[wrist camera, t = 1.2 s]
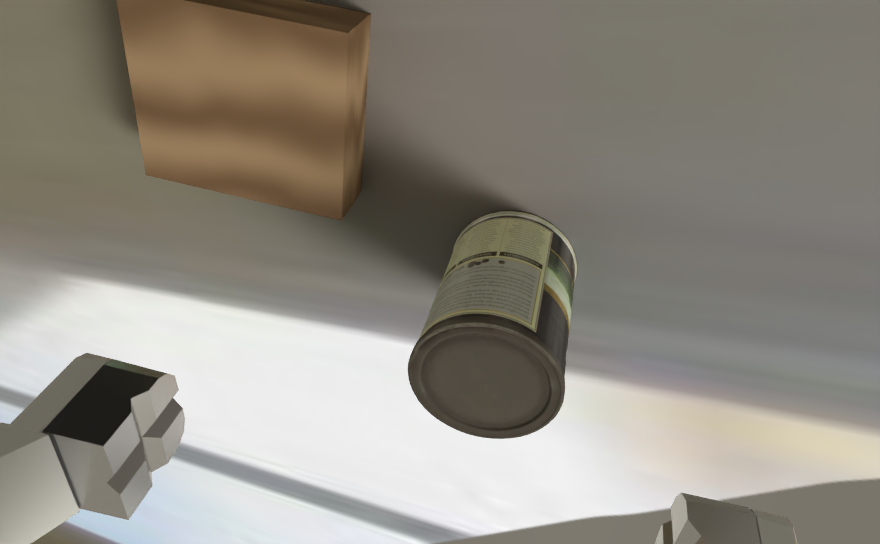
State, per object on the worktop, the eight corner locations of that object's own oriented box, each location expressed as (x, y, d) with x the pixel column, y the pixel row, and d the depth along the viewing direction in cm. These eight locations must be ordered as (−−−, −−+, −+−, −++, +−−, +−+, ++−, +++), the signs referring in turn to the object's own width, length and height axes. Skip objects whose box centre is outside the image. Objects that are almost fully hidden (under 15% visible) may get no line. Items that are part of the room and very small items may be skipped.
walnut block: (157, -30, 47) (113, -14, 43) (372, 12, 45) (348, 33, 41) (180, 147, 55) (146, 174, 52) (362, 189, 54) (341, 220, 50)
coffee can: (605, 262, 52) (599, 390, 41) (522, 332, 58) (497, 460, 47) (503, 184, 50) (467, 295, 39) (428, 264, 56) (378, 381, 45)
